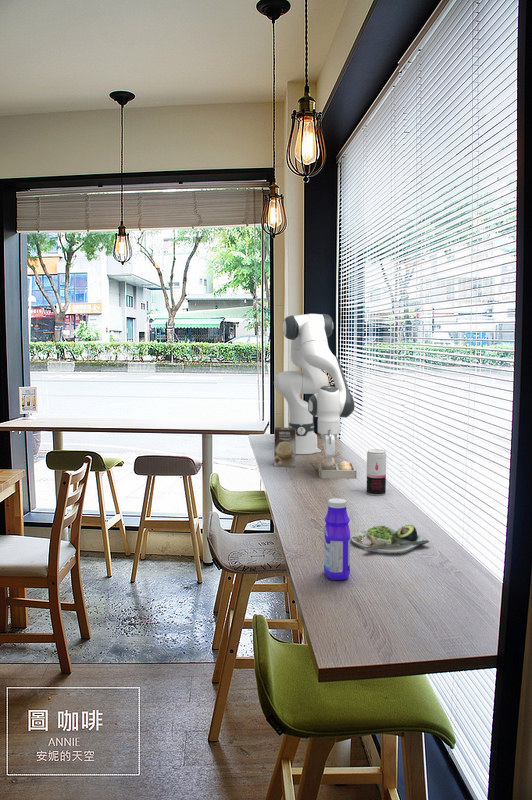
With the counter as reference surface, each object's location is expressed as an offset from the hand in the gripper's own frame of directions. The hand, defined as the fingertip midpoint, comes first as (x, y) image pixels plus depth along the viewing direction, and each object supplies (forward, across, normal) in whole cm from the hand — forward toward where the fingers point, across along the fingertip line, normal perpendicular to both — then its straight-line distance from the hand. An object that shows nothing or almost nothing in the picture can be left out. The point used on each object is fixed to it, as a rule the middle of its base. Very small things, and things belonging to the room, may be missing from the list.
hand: (328, 463), depth 221 cm
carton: (+6, +3, -3) cm, 7 cm away
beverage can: (+6, -23, -15) cm, 28 cm away
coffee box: (+6, +21, +18) cm, 28 cm away
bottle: (+6, -94, +3) cm, 94 cm away
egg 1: (+2, 0, 0) cm, 2 cm away
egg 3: (+5, 0, -7) cm, 8 cm away
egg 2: (+5, +7, -7) cm, 11 cm away
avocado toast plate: (+6, -72, -12) cm, 73 cm away
